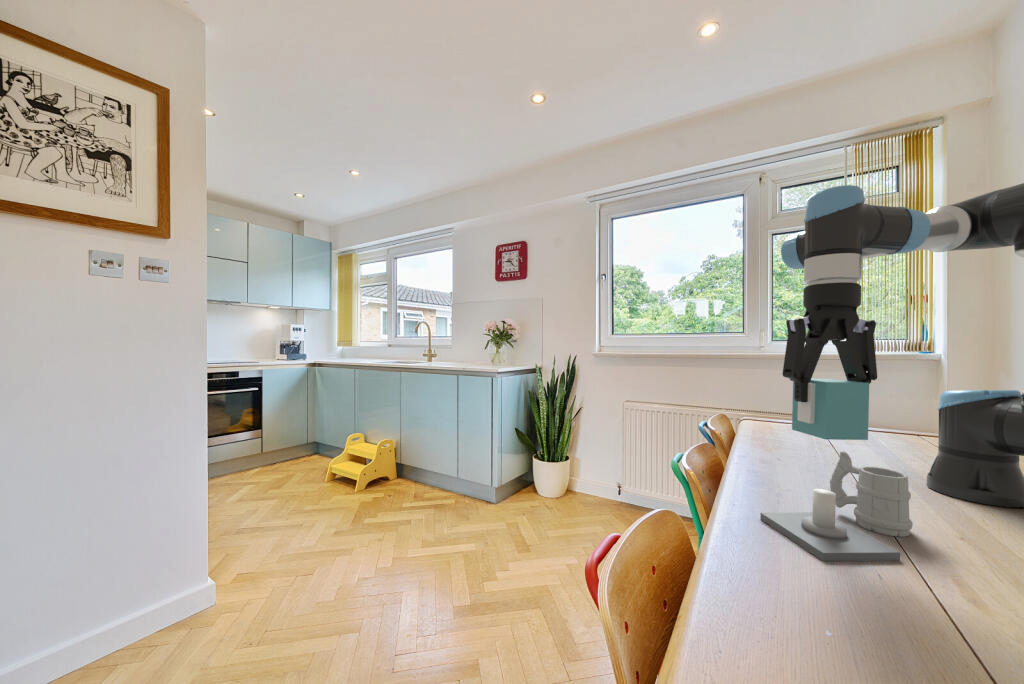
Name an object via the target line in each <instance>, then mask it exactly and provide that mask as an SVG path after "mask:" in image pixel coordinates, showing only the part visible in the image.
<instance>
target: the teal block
mask: <svg viewBox="0 0 1024 684" xmlns="http://www.w3.org/2000/svg"><path fill="white" fill-rule="evenodd" d="M809 383H815V424H810V423H806V422H802V421H798V420H797V417H798V401H795V398H794V395H795V394H794V393H795V382H794V381H792V410H791V411H792V416H791V417H792V418H791V421H792V422H791V430H792V431H795V432H799V433H802V434H805V435H808V436H813V437H816V438H818V439H823V440H831V441H832V440H841V441H842V440H844V441H845V440H846V441H850V440H851V441H869V415H870V414H869V413H870V412H869V411H870V384H869V383H865V382H856V381H847V379H838V378H817V377H816V378H815V377H814V378H813V377H812V378H811V381H810V382H809Z"/></svg>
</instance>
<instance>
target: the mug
mask: <svg viewBox="0 0 1024 684" xmlns="http://www.w3.org/2000/svg"><path fill="white" fill-rule="evenodd" d="M849 473H851V474H855V475H858V481H857V482H856V484H855V485H856V487H855V488H856V489H857V494H852V495H851V494H849V495H848V493H846V492H845V490H844V489H843V479H844V478H845V477H846V476H847V475H848V474H849ZM829 486H830V491H831V492H834V493H835V494H836V508H839V509H841V508H843V507H845V506H846V505H856V506H855V507H854V509H853V514H854V516H855V523H856V524H858V525H859V526H860V527H862V528H863V529H866V530H868V531H873V532H875V533H878V534H880V535H885V536H891V537H900V538H903V537H904V538H905V537H908V536H910V534H911V530H912V529H913V521H912V520H911V518H910V500H911V496H912V494H911V492H910V491H909V476H908V474H905V473H902V472H900V471H898V470H892V469H890V468H884V467H877V466H861V467H857V466H854V465H853V463H852V458H851V457H850V455H849V454H848V453H847V452H846V451H845V450H842V451H839V459H838V461H837V463H836V466H835V468H834V470H833V473H832V474H831V478H830V479H829Z"/></svg>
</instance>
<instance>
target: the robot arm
mask: <svg viewBox="0 0 1024 684" xmlns="http://www.w3.org/2000/svg"><path fill="white" fill-rule="evenodd" d="M865 198H866V197H864V190H863V188H861V187H860V186H858V185H854V184H853V185H851V184H849V185H837V186H833V187H828V188H824V189H822V190H819V191H817V192H814V193H812V195H810V196H809V197H808V199H807V201H806V207H805V215H804V220H803V222H804V230H801V231H799V232H797V233H795V234H792V235H790V236H788V237H787V238H785V240H784V241H783V242H782V244H781V248H780V255H781V259H782V261H783V263H784V264H785V265H786V266H787V267H789V268H790V269H793V270H801V269H803V283H804V284H806V286H805V287H804V288H803V293H802V294H803V299H802V301H803V302H802V306H803V308H805V313H804V314H803V315H802V317H799V318H798V317H797V318H788V319H786V324H785V325H786V328H787V329H786V330H787V339H786V347H785V354H784V361H783V367H782V376H783V377H784V378H788V379H789V380H790V382H791V381H792V382H793V381H794V382H795V393H794V394H795V395H794V398H795V401H798V417H797V420H798V421H802V422H806V423H810V424H815V383H809V382H810V381H811V378H813V375H814V373H815V370H816V368H817V365H818V362H819V360H820V357H821V355H822V352H823V349H824V347H825V346H826V345H827V344H828V343H829V341H831V343H832V345H834V346H835V348H836V352H837V354H838V357H839V359H840V364H841V366H842V369H843V372H844V374H845V378H846V380H847V381H856V382H865V383H869V385H870V384H871V383H872V381H876V380H878V368H877V357H876V347H875V346H876V345H875V337H874V336H875V332H876V331H875V330H876V326H877V322H876V320H873V319H870V320H864V319H861V318H860V316H859V314H858V312H857V310H858V307H860V306H861V305H862V285H861V284H860V283H858V282H859V281H861V280H862V277H863V276H862V275H863V271H862V270H863V259H870V258H871V259H872V258H875V257H876V258H877V257H883V256H890V255H898V254H899V255H900V254H907V253H911V252H918V251H924V250H927V251H929V252H933V253H943V252H948V251H949V252H952V251H966V250H967V251H968V250H985V249H988V250H989V249H997V248H998V249H999V248H1005V247H1014V254H1015V255H1017V256H1020V257H1021V258H1023V259H1024V182H1023V183H1020V184H1016V185H1012V186H1009V187H1005V188H1000V189H996V190H994V191H991V192H987V193H984V194H982V195H978V196H975V197H971V198H968V199H965V200H963V201H960V202H956V203H953V204H949V205H942V206H938V207H935V208H932V209H930V210H929V211H927V212H923V211H921V210H918V209H913V208H908V207H905V206H887V205H875V204H873V205H872V204H870V203H865V201H866V199H865ZM807 329H808V331H807ZM937 411H938V437H937V439H938V443H937V444H938V451H937V456H936V457H935V459H934V461H933V463H932V465H931V467H930V470H929V472H928V473H927V475H926V486H927V487H928V488H929V489H931V490H934V491H936V492H938V493H941V494H943V495H946V496H950V497H953V498H958V499H961V500H965V501H969V502H974V503H979V504H983V505H989V506H990V505H991V506H995V505H996V507H1002V506H1008V507H1007V508H1012V507H1024V474H1023V471H1022V470H1021V467H1020V456H1021V457H1024V389H1023V390H1022V391H1019V390H1016V389H1015V390H1014V389H1007V390H1006V389H999V390H998V389H991V390H990V389H985V390H984V389H983V390H981V389H979V390H977V389H976V390H975V389H973V390H971V389H970V390H967V389H966V390H965V389H963V390H962V389H961V390H959V389H957V390H953V389H952V390H945V391H944V392H942V393H941V394H940V397H939V403H938V408H937Z"/></svg>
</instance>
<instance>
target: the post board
mask: <svg viewBox="0 0 1024 684" xmlns="http://www.w3.org/2000/svg"><path fill="white" fill-rule="evenodd" d="M836 508H837V506H836V494H835V493H834V492H831V490H827V489H824V488H823V489H821V488H814V489H812V512H760V520H761V521H762V522H764V523H766V524H767V525H768V526H770V527H771V528H773V529H775V530H776V531H778V532H779V533H780V534H782V535H783V536H785V537H787V538H788V539H790V540H791V541H793V542H794V543H795V544H797V545H798V546H800V547H801V548H803V549H804V550H806V551H807V552H809V553H810V554H812V555H814V556H815V557H817V558H818V559H819V560H821V561H823V562H838V561H839V562H840V561H841V562H843V561H844V562H849V561H850V562H851V561H853V562H854V561H855V562H856V561H857V562H859V561H860V562H861V561H862V562H863V561H864V562H867V561H869V562H871V561H876V562H877V561H878V562H879V561H880V562H881V561H886V562H887V561H901V552H900V551H898V550H897V549H894V548H893V547H891V546H889V545H887V544H885V543H883V542H881V541H879V540H877V539H875V538H873V537H871V536H870V535H868V534H865V533H864V532H862V531H860V530H858V529H857V528H855V527H852V526H850V525H849V524H847V523H845V522H843V521H841V520H838V519H837V518H836Z"/></svg>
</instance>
